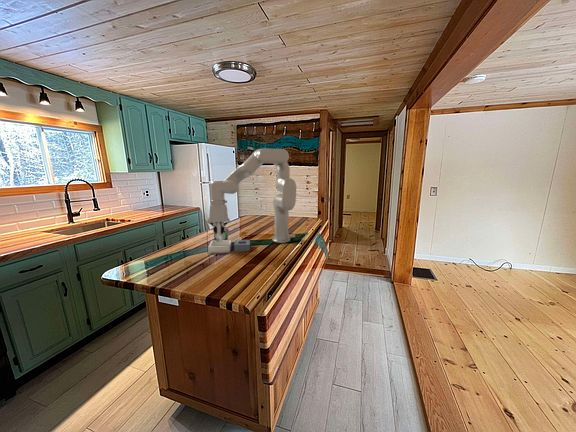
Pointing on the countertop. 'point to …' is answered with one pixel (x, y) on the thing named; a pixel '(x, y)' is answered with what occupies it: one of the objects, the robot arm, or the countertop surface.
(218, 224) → the steel pin
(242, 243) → the block
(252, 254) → the countertop surface
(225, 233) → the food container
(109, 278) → the countertop surface
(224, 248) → the parts tray
